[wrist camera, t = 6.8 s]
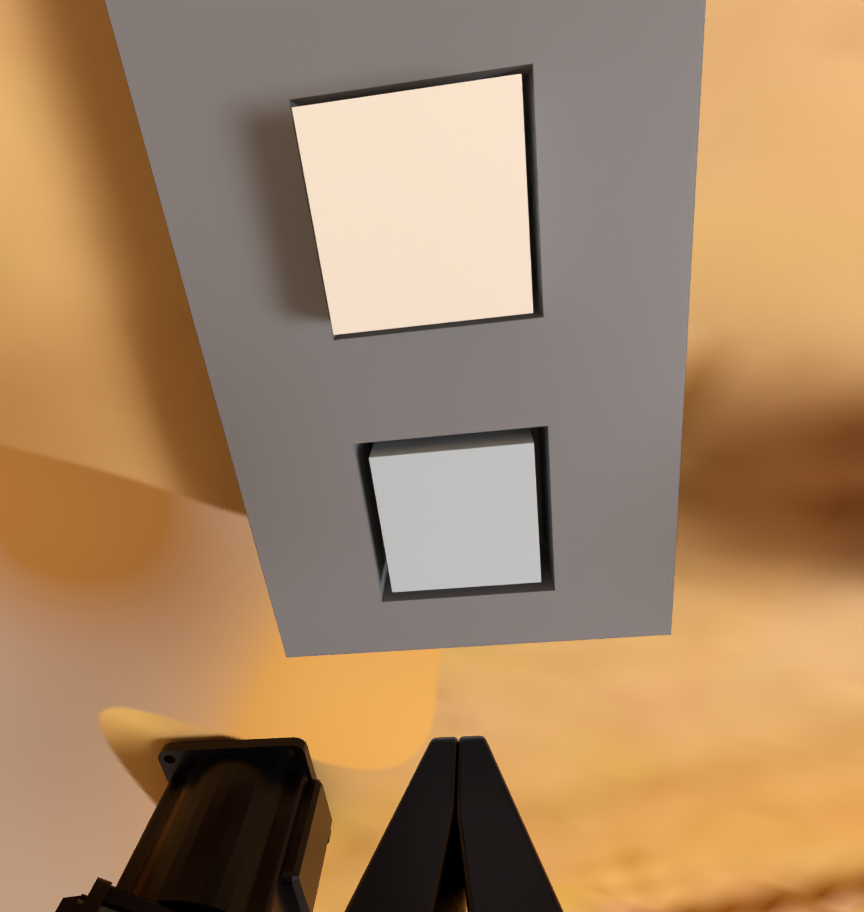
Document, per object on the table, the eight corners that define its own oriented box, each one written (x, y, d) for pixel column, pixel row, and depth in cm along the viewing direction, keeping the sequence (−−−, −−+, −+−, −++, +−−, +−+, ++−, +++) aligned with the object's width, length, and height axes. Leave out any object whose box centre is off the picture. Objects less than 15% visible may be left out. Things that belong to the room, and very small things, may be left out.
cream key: (352, 316, 15) (333, 334, 13) (320, 123, 13) (291, 108, 11) (522, 296, 15) (533, 312, 12) (511, 96, 13) (521, 73, 11)
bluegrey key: (400, 548, 19) (392, 592, 17) (380, 426, 18) (369, 457, 16) (532, 538, 19) (541, 582, 17) (524, 412, 17) (533, 443, 15)
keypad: (312, 590, 22) (286, 657, 19) (74, -397, 12) (-66, -615, 9) (638, 568, 21) (671, 634, 17) (667, -537, 11) (752, -845, 8)
